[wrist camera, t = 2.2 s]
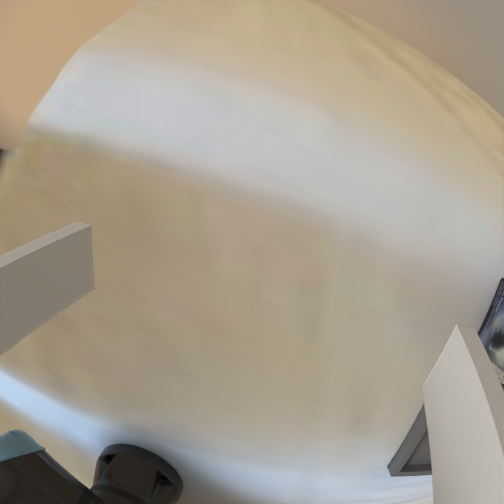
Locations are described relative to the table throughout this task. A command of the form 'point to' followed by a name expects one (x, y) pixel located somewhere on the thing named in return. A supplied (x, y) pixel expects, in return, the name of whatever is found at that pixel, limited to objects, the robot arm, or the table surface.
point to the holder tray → (414, 450)
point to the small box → (494, 329)
